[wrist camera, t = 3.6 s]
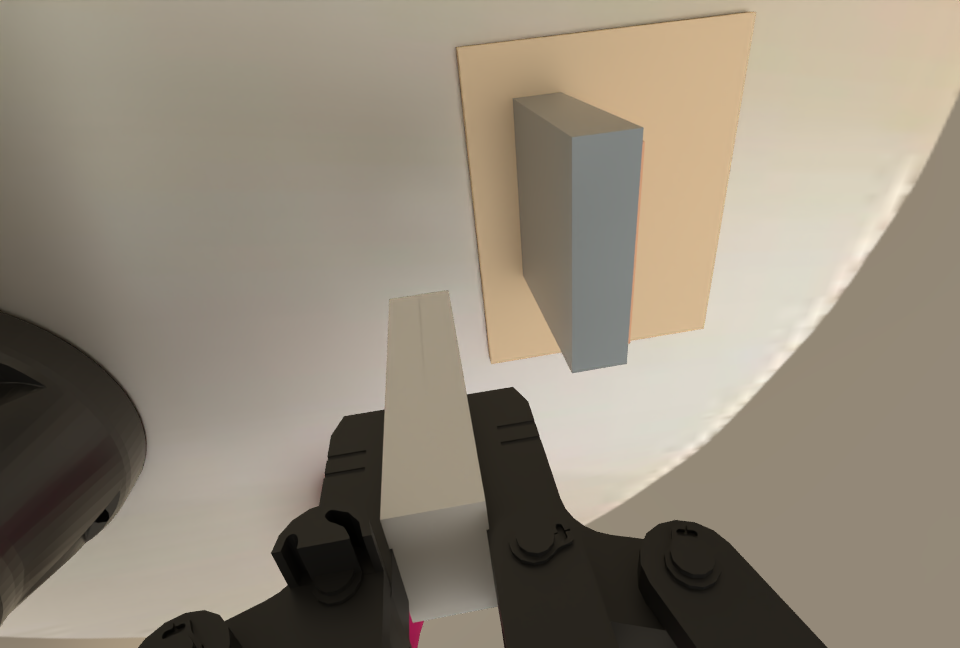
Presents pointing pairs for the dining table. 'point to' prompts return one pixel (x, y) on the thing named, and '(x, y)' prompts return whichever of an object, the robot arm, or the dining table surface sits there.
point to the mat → (666, 168)
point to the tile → (579, 222)
